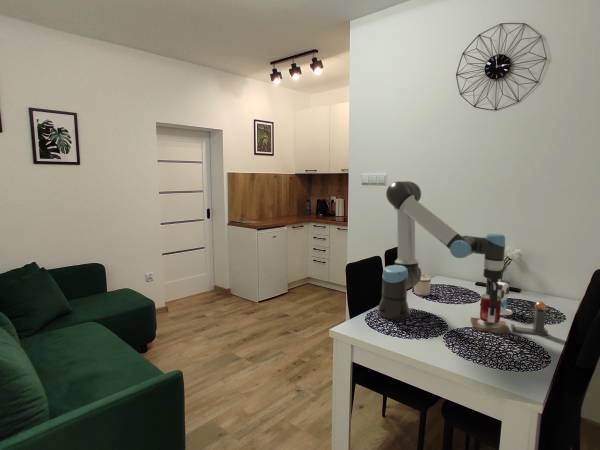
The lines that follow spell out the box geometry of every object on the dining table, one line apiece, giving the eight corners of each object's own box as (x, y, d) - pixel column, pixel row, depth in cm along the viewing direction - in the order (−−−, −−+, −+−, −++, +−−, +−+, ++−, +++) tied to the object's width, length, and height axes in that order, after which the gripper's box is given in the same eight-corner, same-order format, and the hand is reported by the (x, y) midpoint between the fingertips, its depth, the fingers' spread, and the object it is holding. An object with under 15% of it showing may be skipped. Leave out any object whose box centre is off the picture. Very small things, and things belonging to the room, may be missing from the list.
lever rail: (512, 331, 161) (513, 327, 161) (510, 328, 164) (511, 324, 164) (547, 336, 156) (547, 331, 156) (544, 332, 160) (545, 328, 160)
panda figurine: (507, 317, 178) (509, 287, 176) (483, 311, 186) (485, 282, 185) (515, 311, 186) (518, 282, 184) (492, 305, 195) (494, 278, 193)
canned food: (502, 324, 161) (504, 299, 159) (482, 322, 162) (484, 298, 161) (496, 317, 168) (498, 294, 167) (477, 316, 170) (479, 293, 168)
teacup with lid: (432, 293, 215) (433, 273, 214) (426, 296, 209) (427, 276, 207) (413, 289, 223) (414, 270, 222) (406, 292, 217) (407, 273, 215)
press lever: (534, 331, 158) (536, 302, 156) (531, 328, 162) (534, 299, 160) (545, 332, 157) (547, 303, 155) (542, 329, 160) (544, 301, 159)
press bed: (473, 329, 162) (473, 325, 162) (470, 320, 174) (471, 316, 173) (509, 334, 158) (509, 330, 157) (504, 324, 169) (504, 320, 169)
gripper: (507, 275, 152) (503, 328, 154) (498, 264, 171) (495, 312, 174) (487, 273, 154) (483, 325, 157) (481, 263, 173) (477, 310, 176)
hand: (489, 318), depth 165 cm, fingers closed on canned food, 8 cm apart
